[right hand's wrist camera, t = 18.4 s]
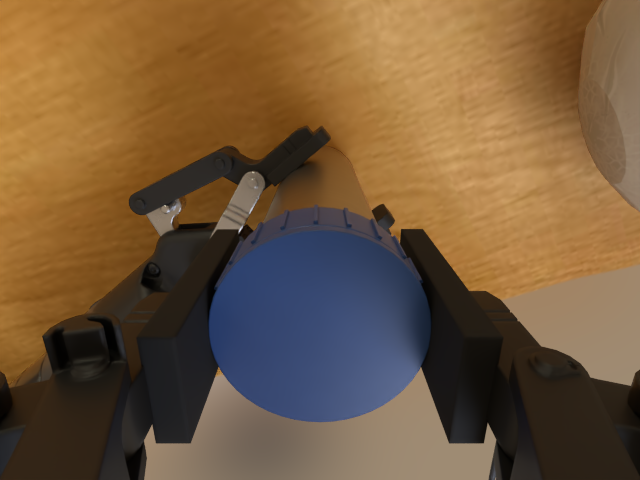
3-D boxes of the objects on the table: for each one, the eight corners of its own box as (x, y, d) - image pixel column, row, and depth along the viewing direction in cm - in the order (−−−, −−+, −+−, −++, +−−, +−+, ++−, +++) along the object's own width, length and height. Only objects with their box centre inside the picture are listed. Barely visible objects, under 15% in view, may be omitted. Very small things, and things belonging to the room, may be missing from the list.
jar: (283, 145, 27) (223, 233, 10) (356, 145, 27) (415, 232, 10) (285, 215, 29) (237, 388, 12) (354, 214, 29) (402, 388, 12)
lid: (367, 397, 13) (375, 448, 11) (199, 340, 13) (177, 385, 11) (451, 249, 12) (477, 280, 10) (261, 171, 11) (248, 189, 9)
